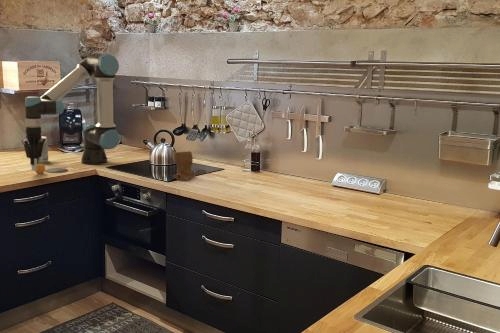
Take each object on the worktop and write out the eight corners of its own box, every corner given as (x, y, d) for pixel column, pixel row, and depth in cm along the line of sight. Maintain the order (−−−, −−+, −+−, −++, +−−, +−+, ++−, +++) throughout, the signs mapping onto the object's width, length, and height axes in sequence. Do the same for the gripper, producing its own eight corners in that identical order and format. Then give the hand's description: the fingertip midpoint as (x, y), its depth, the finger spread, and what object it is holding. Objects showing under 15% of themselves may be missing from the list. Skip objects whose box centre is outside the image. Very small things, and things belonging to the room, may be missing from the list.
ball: (39, 177, 282) (46, 169, 285) (41, 174, 277) (48, 167, 280) (31, 170, 280) (37, 163, 283) (33, 167, 276) (40, 160, 279)
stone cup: (181, 174, 295) (181, 148, 292) (199, 177, 290) (200, 150, 287) (166, 179, 281) (167, 152, 278) (186, 182, 277) (186, 154, 274)
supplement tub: (45, 159, 318) (44, 135, 315) (50, 162, 311) (49, 137, 308) (28, 161, 312) (27, 136, 309) (33, 163, 305) (32, 138, 302)
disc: (66, 167, 298) (66, 167, 298) (69, 172, 288) (69, 171, 288) (43, 169, 293) (43, 168, 293) (46, 173, 282) (46, 173, 282)
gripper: (27, 128, 266) (28, 173, 270) (48, 126, 277) (49, 169, 281) (17, 126, 269) (19, 171, 274) (39, 124, 280) (40, 167, 285)
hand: (34, 170), depth 278 cm, fingers closed
